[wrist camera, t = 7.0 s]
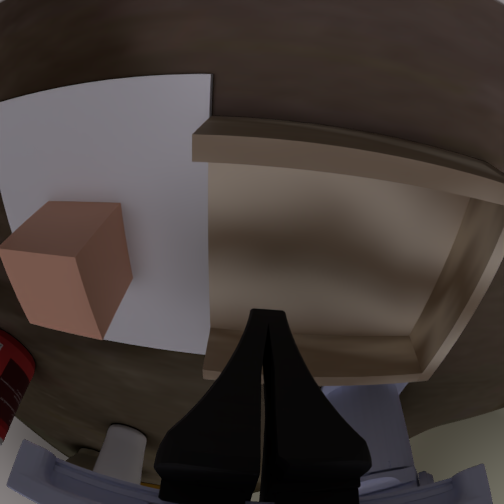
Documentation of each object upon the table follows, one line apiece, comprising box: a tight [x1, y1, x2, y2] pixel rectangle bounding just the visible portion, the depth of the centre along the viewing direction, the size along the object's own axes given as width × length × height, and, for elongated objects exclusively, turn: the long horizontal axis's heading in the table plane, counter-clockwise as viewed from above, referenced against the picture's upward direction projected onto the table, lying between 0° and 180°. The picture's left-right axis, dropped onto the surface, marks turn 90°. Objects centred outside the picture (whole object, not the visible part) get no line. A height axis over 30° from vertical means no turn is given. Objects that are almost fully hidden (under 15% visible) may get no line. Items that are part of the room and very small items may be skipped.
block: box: [0, 201, 133, 340], centre depth 15 cm, size 5×5×5 cm
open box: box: [192, 116, 504, 386], centre depth 16 cm, size 14×15×4 cm
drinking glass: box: [93, 424, 147, 485], centre depth 28 cm, size 7×7×15 cm
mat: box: [0, 74, 213, 355], centre depth 17 cm, size 18×14×1 cm
